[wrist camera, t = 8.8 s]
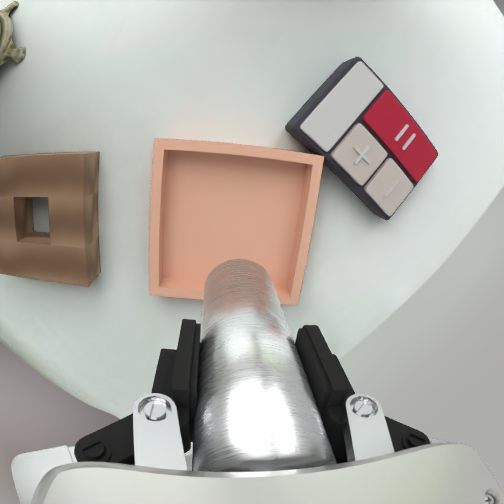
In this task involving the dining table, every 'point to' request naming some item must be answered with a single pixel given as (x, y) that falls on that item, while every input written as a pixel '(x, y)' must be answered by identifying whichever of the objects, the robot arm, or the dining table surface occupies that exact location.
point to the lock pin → (252, 381)
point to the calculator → (365, 137)
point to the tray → (229, 214)
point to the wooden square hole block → (50, 217)
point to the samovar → (9, 38)
